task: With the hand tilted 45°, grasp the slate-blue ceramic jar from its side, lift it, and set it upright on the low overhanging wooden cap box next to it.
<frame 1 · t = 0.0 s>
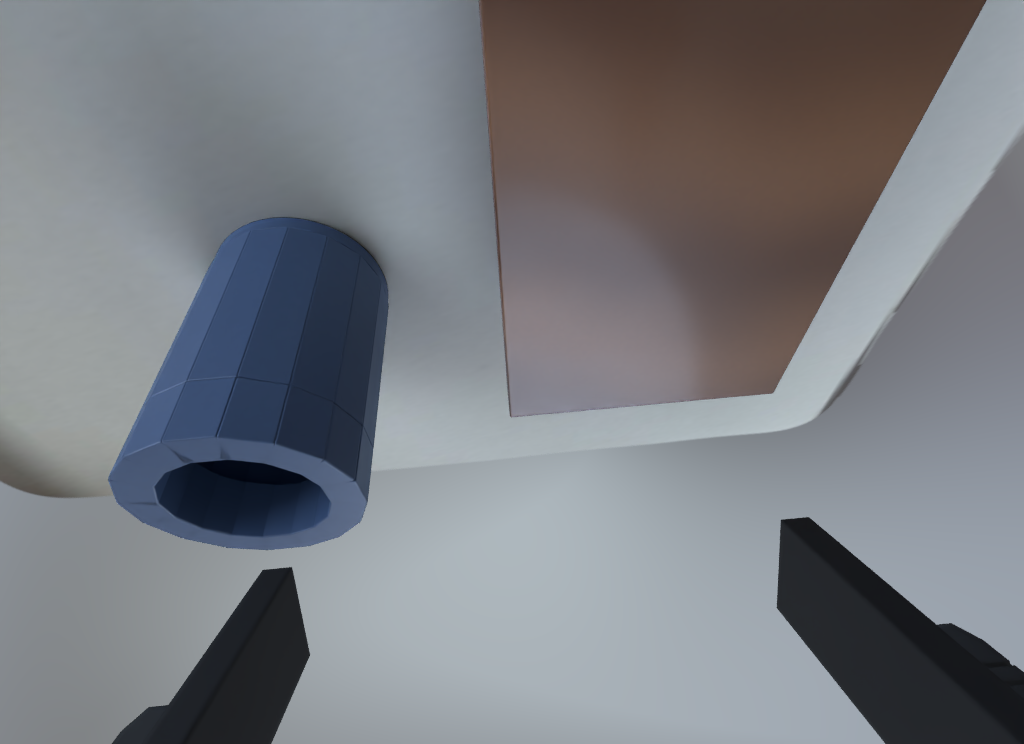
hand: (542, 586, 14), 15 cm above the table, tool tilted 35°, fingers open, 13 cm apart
overhanging wooden cap box: (637, 160, 21), on the table
jar: (305, 288, 24), on the table
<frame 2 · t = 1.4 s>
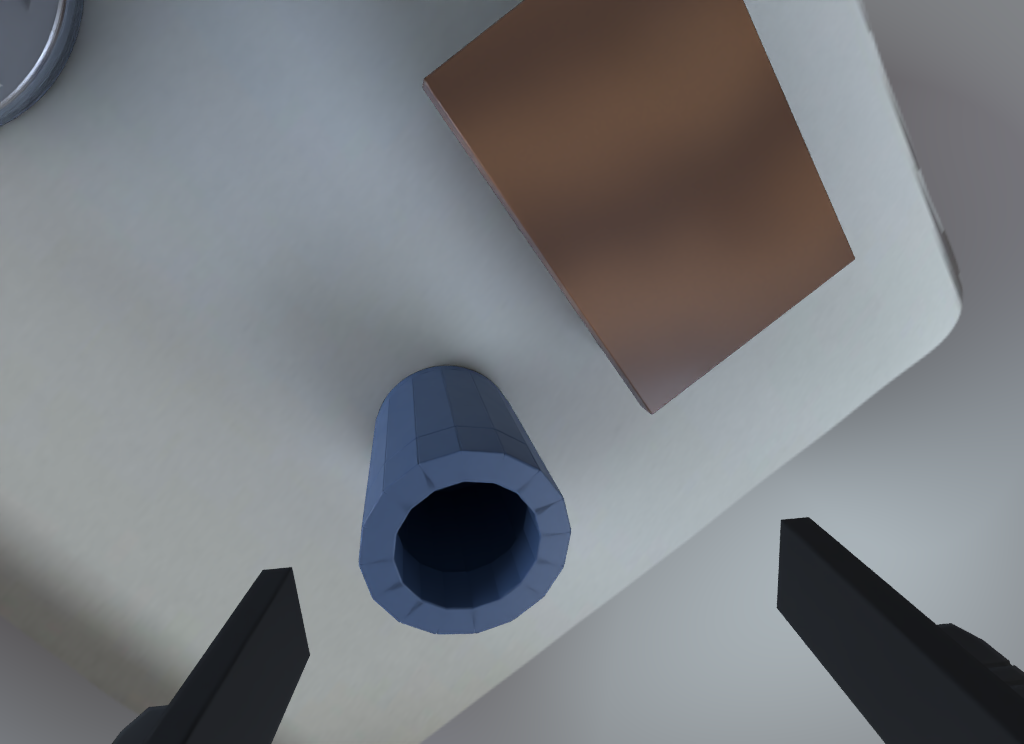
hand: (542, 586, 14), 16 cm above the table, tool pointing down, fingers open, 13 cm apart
overhanging wooden cap box: (612, 188, 27), on the table
jar: (445, 430, 29), on the table
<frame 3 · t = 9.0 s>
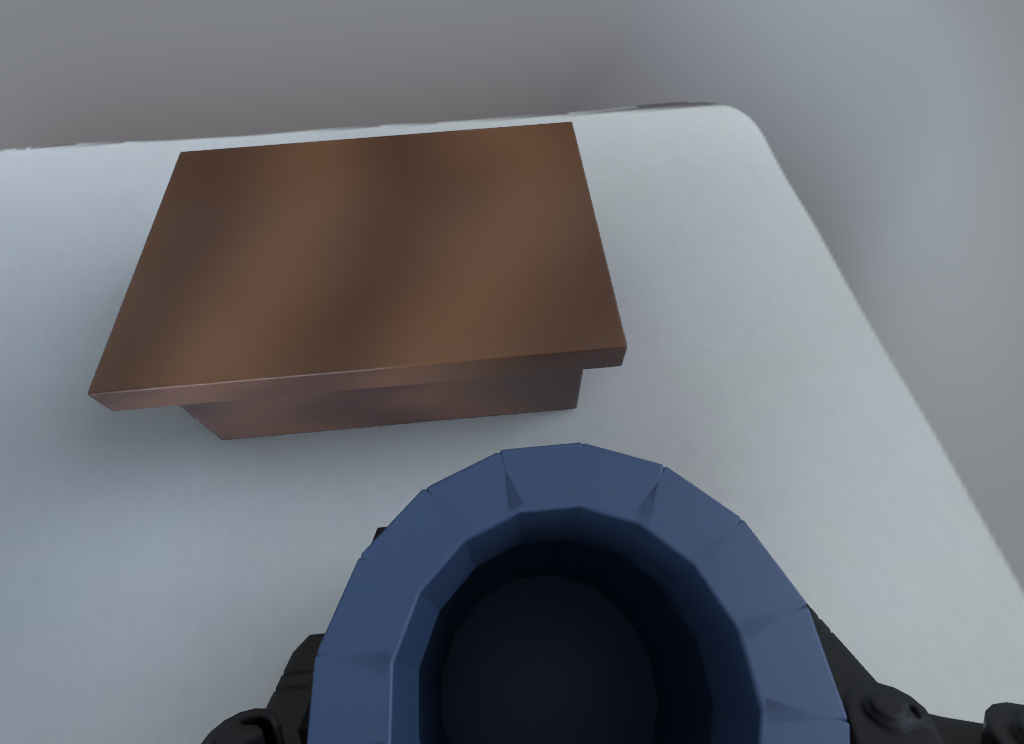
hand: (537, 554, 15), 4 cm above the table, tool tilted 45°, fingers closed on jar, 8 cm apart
overhanging wooden cap box: (403, 329, 25), on the table
jar: (547, 688, 17), on the table, touching gripper
when the fingers open (10 cm above the table, at t = 19.0 s): jar stays where it is, resting on overhanging wooden cap box.
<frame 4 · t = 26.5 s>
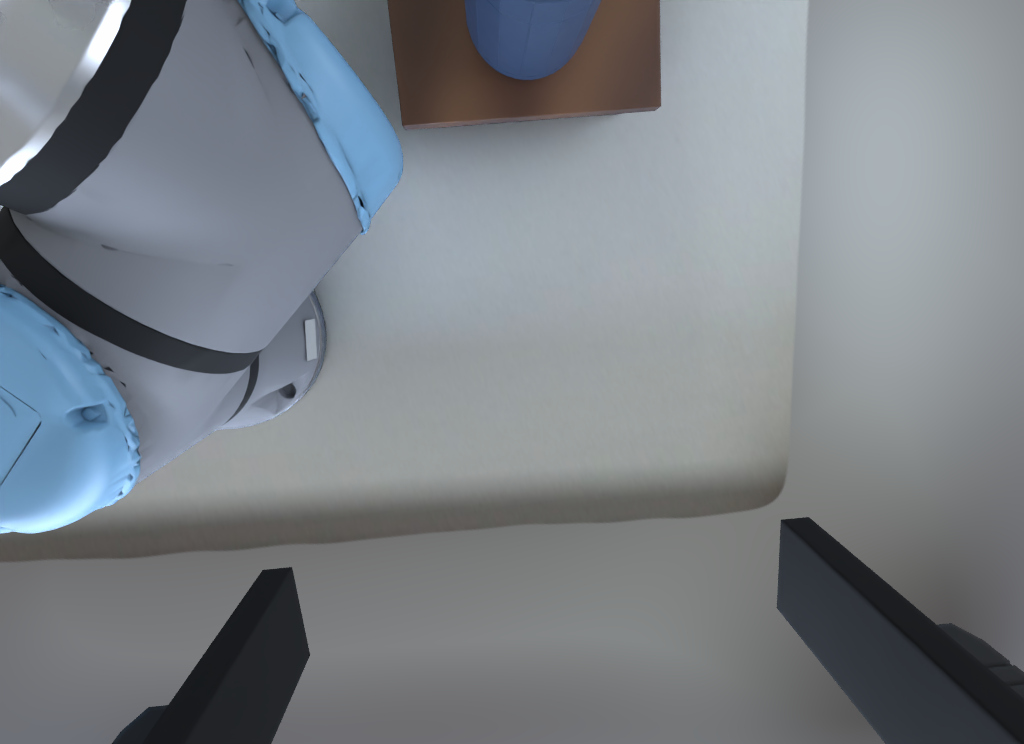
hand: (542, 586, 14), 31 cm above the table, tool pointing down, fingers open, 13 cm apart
overhanging wooden cap box: (520, 47, 38), on the table
jar: (526, 13, 33), point 6 cm above the table, touching overhanging wooden cap box
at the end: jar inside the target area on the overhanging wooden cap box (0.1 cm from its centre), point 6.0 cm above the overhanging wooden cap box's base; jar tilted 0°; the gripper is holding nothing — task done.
